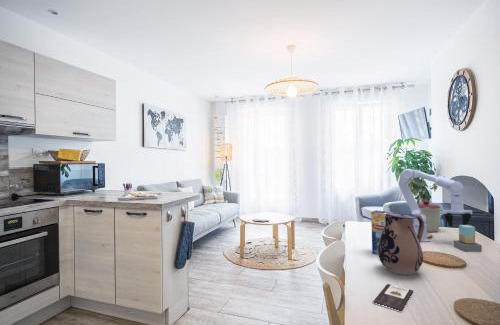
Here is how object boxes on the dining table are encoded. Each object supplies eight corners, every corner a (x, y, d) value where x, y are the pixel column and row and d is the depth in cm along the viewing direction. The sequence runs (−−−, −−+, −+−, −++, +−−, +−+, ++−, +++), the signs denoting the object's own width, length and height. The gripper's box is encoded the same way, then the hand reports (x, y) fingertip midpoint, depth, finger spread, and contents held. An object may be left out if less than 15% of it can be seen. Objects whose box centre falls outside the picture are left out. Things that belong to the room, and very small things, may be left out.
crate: (463, 251, 144) (463, 244, 144) (453, 246, 153) (453, 240, 153) (481, 251, 143) (481, 245, 143) (470, 246, 152) (470, 240, 152)
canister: (448, 234, 178) (447, 201, 178) (418, 233, 181) (417, 201, 181) (434, 227, 196) (434, 198, 196) (407, 227, 199) (406, 198, 199)
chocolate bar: (372, 301, 94) (387, 283, 108) (372, 304, 94) (387, 286, 108) (401, 310, 88) (413, 290, 102) (401, 313, 88) (413, 293, 102)
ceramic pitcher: (369, 267, 126) (368, 213, 126) (403, 260, 133) (401, 209, 133) (402, 282, 109) (401, 220, 109) (439, 274, 117) (437, 215, 117)
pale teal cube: (465, 236, 146) (464, 227, 146) (459, 234, 151) (458, 225, 151) (475, 236, 145) (475, 227, 145) (469, 234, 150) (468, 225, 150)
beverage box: (394, 258, 137) (393, 214, 137) (372, 253, 145) (371, 212, 145) (398, 254, 142) (397, 212, 142) (376, 250, 149) (375, 210, 149)
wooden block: (465, 249, 146) (464, 236, 146) (459, 246, 151) (458, 233, 151) (475, 249, 145) (474, 236, 145) (469, 246, 150) (468, 234, 150)
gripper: (447, 203, 153) (448, 228, 153) (475, 203, 151) (476, 228, 151) (440, 202, 160) (440, 225, 160) (467, 201, 158) (468, 225, 158)
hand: (457, 226), depth 156 cm, fingers open, 7 cm apart
